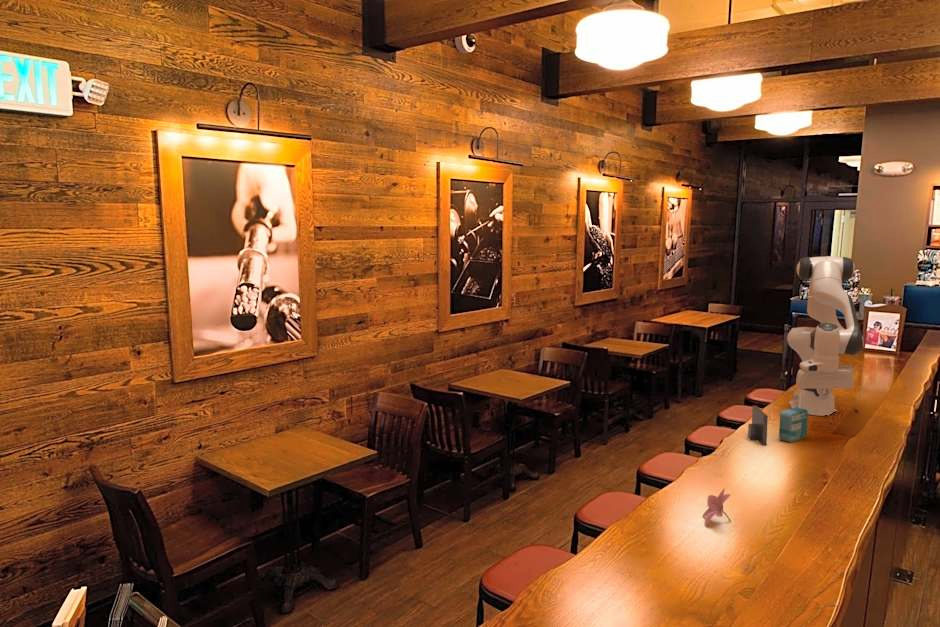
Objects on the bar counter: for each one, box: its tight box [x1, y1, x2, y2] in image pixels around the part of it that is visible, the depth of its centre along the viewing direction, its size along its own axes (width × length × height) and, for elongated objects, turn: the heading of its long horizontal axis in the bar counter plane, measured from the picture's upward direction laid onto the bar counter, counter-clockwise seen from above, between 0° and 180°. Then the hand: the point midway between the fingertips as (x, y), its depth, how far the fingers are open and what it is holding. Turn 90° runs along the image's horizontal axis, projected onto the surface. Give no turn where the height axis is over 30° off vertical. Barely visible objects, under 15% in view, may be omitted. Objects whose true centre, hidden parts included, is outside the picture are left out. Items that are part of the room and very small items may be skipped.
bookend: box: [747, 405, 769, 446], centre depth 252 cm, size 14×4×12 cm, turn 172°
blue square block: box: [778, 407, 809, 443], centre depth 251 cm, size 12×4×12 cm, turn 121°
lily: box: [702, 487, 732, 528], centre depth 184 cm, size 12×12×10 cm
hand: (823, 398), depth 247 cm, fingers closed
